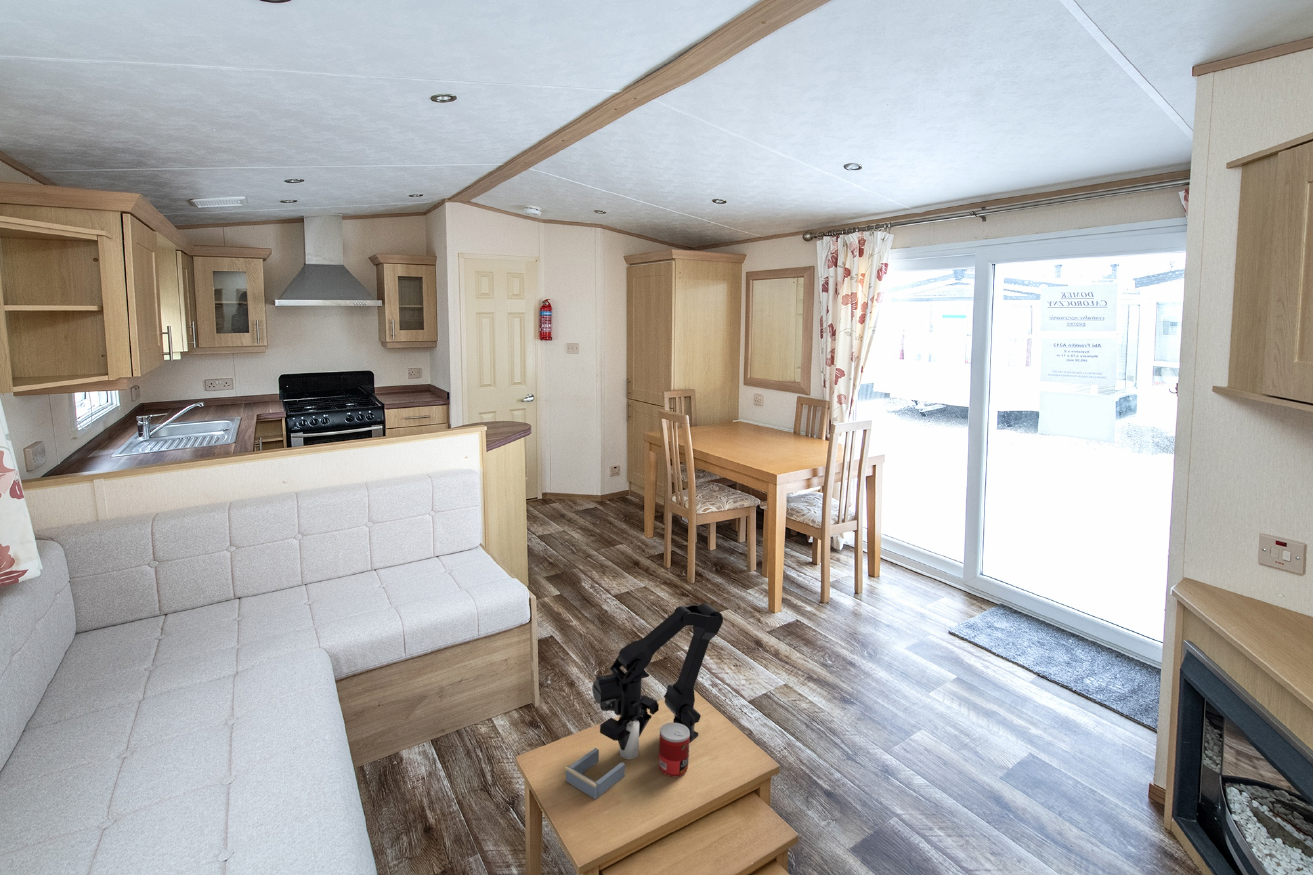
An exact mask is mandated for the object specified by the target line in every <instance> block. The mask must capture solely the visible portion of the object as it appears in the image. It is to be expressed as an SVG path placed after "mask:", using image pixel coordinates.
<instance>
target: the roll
mask: <svg viewBox="0 0 1313 875" xmlns="http://www.w3.org/2000/svg"><path fill="white" fill-rule="evenodd" d="M627 730H628V731H629V732H630V736H629V739H628V742H627V745H626V748H625V750H622V749H621V748H620V747H619V756H620V758H623V759H626V760H633V759H635V758H637V757H638V755H639V747H640V744H639V743H640V737H639V721H638V720H634V721H633V722H631V723H629V724H628V725H627Z"/></svg>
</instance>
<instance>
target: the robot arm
mask: <svg viewBox="0 0 1313 875" xmlns="http://www.w3.org/2000/svg"><path fill="white" fill-rule="evenodd" d="M723 621H724V617H723V615H722V613H721V612H720V611H718V610H717V609H716V608H714V607H713V606H711V605H710V604H709V603H707V602H706V603H700V604H689V605H687V606H683V605H682V606H677V607H676V608H675V609H674V612H672V613H671V614H670V615H669V616H668V617H666V618H665V619H664V620H663V621H662V622H661V623H660V624H658V625H657V626H656V627H654V628H653V630H651V631H650V632H649V633H647V634H646V635H645V636H644V637H643V638H641V639H639V640H633V641H631V642H630V643H628V644H627V645H624V646H623V647H622V648H621V649H620V650H619V652H618V656H617V657H616V659H615V660H614V661H613V663H612V665H611V666H610V667H609V670H610V671H611V673H609V674H606V675H600V676H596V677H595V681H594V682H592V685H591V686H592V688H591V689H592V695H593V698H594V701H595V703H597V704H599V707H600V710H601V711H602V712H609V711H611V712H614V715H615V716H620V717H618V720H617V719H614V718H613V717H610V718H608V719H606V720H605V721H603V722H602V723H601V724H600V725H599V733H600V735H603V736H605V737H607V738H609V739H610V740H612V741H614V742H616V741H617V743H618V745H619V749H620V748H621V749H622V750H625V748H626V745H627V742H628V739H629V736H630V732H629V731H628V730H627V725H628V724H629V723H631V722H633V721H634V720H638V721H639V738H640V737H641V735H642V733H643V731H644V730H645V728H646V727H647V725H648V723H649V721H650V720H651V718H652V715H655V714H657V712H659V710H660V709H659V708H660V704H659V703H658V701H657V700H656V699H654V698H652V697H649V696H647V695H645V694H644V695H642V687H643V686H642V683H643V682H642V681H643V680H642V679H646V678H649V677H650V673H648V672H647V670H646V668H647V667H648V666H649V665H650V663H651V661H652V659H653V656H654V655H655V654H656V653H657V652H658V651H659V650H660V649H661V648H662V647H663V646H664V645H665V644H667V643H668V642H669V641H670V640H672V639H673V638H674V637H675V636H676V635H677V634H678V633H679V632H681V631H682V630H684V628H686V627H687V626H688V627H689V626H691V627H692V632H693V634H692V637H691V640H690V643H689V646H688V649H687V652H686V655H685V658H684V660H683V663H682V666H681V669H680V672H679V676H678V679H677V681H676V682H675V683H673V684H668V685H667V687H666V692H665V694H664V695H663V698H664V704H665V706H666V708H667V709H668V710H669V711H670V712H671V713H672V714H673V716H674V717H673V719H672V720H673V722H672V723H680V724H682V725H684V726H686V727H687V728H688V729H689V732H690V742H689V744H690V743H691V742H692V741H693V740H694V739H695V738H697V737H698V736H699V732H697V731H696V730H695V725H696V724H697V723H699V722H700V719H701V717H702V716H701V714H700V713H699V712H698V711H697V710H696V709H695V708H694V707H695V701H696V697H695V685H696V682H697V680H698V676H699V673H700V671H701V667H702V664H703V662H704V659H705V656H706V653H707V650H708V648H709V643H710V641H711V640H712V639H714V637H715V636H716V635H718V633H719V631H720V629H721V628H722V625H723V623H724V622H723ZM621 667H622V668H623V669H624V670H625V671H623V669H622V668H621ZM648 710H649V711H648ZM649 713H650V714H649Z"/></svg>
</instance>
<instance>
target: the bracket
mask: <svg viewBox="0 0 1313 875" xmlns="http://www.w3.org/2000/svg"><path fill="white" fill-rule="evenodd" d="M599 751H600V750H599V748H597V747H594V748H593V749H592V750H590V751H589V752H587V753H586V754H584V755H583V756H581V758H579V759H578V760H576V761H575V762H573V763H572V764H570V765H569V766H567V765H566V766H565V767H564V770H565V782H567V783H569V784H570V785H572V786H573V787H575V788H576V789H578V790H580V791H581V792H583V793H584V794H586V795H588V796H589V797H590V798H592V799H594V800H597V799H598V798H599V797H600V796H602V795H603V794H604V793H605V792H607V791H608V790H609V789H610V788H611V787H613V786H614V785H615V784H617V783H618V782H620V781H621V780H622V779H623V778H624V777H625V773H626V770H625V769H626V768H625V767H626V764H625V763H624V762H623V761H622V762H619V763H618V764H617V765H616V766H615V767H613V768H612V769H611V770H609V771H607V773H605V774H604V775H603V776H601V777H600V778H599V779H598V780H596V781H594V780H592V779H591V778H589V777H588V776H585V775H584V774H583V773H585V772H586V771H587V770H589V769H590V768H592V767H593V766H594V765H595V764H597V763H598V762H599V761H600V760H599V758H600V755H599V754H600V752H599Z"/></svg>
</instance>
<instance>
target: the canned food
mask: <svg viewBox="0 0 1313 875" xmlns="http://www.w3.org/2000/svg"><path fill="white" fill-rule="evenodd" d="M689 742H690V732H689V729H688V728H687V727H686V726H684V725H682V724H680V723H673V722H667V723H665V724H663V725H662V726H661V727H660V730H659V742H658V743H659V744H658V746H659V748H658V749H659V750H658V767H659V770H660V771H661V773H663V774H664V775H665V776H668V775H669V777H672V776H678V777H681V776H683V775H685V774H686V773H687V771H688V769H689V758H690V757H689V756H690V743H691V742H690V743H689ZM685 772H686V773H685ZM684 773H685V774H684ZM680 775H681V776H680Z"/></svg>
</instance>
